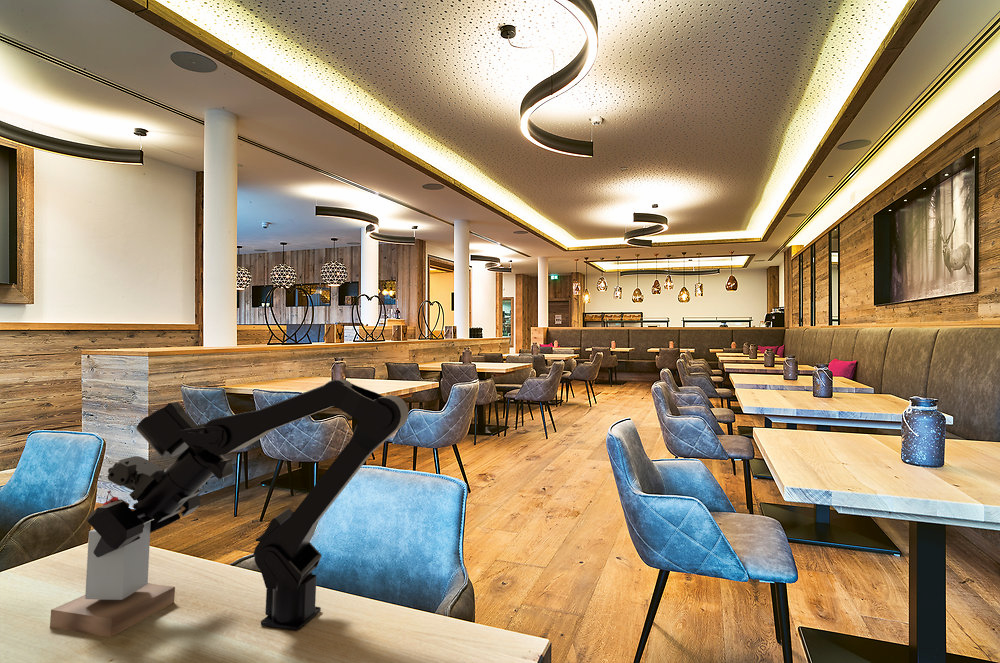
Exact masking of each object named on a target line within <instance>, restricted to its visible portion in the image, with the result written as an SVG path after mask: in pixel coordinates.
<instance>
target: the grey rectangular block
mask: <svg viewBox="0 0 1000 663" xmlns="http://www.w3.org/2000/svg"><path fill="white" fill-rule="evenodd" d="M150 525H151V521H149V522H147V523H145V524H144V528H143V532H142V533H141V534H140V535H139V537H140V539H138V540H136V541H134V542H132V543H130V544H128V545H125V546H123V547H121V548H119V549H116V550H114V551H112V552H109V553H107V554H105V555H103V556H101V557H96V556H95V554H94V553H93V552H94V550H95V548H96V546H97V544H98V542H99V540H100V538H101V536H100V535H99V534H98V533H97V531H96V530H95V529H94V528H93V529H92V530H89V531H88V541H87V557H86V558H87V560H86V579H85V582H86V583H85V594H84V595H85V599H104V600H123V599H124V598H126V597H127V596H129V595H131V594H132V593H134V592H135V591H137V590H139V589H140V588H142V587H143V586H145V585H147V584H148V583H149V566H150V565H149V564H150V562H149V561H150V546H151V545H150V543H151V533H150Z"/></svg>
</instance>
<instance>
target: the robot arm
mask: <svg viewBox="0 0 1000 663" xmlns="http://www.w3.org/2000/svg"><path fill="white" fill-rule="evenodd" d="M333 407H334V408H337V409H339V410H340V411H342V412H344V413H345V414H347V415H348V416H349V417H351V418H353V419H355V420H357V423H356V425H355V427H354V430H353V433H352V435H351V438H350V439H349V442H348V443H347V444H346V446H345V447H344V448H343V449H342V450H341V452H340V453H339V454H338V456H336V458H335V459H334V461H333V462H332V463H331V464H330V466H329V467H328V468H327V469H326V471H325V472H324V473H323V475H322V476H321V477H320V478H319V479H318V481H317V482H316V483H315V485H314V486H313V487H312V489H311V490H310V491H309V492H308V493H307V495H306V496H305V498H304V499H303V500H302V501H301V503H300V504H298V506H297V507H296V509H295V510H294V511H293V509H291V508H290V507H288V508H287V509H285V510H284V511H282V512H280V513H279V514H277V515H276V516H274V517H273V518H272V519H271V521H270V523H269V524H268V525H267V527H266V529H265V531H264V532H263V533H262V534H261V535H259V536H258V537H257V538H256V539H255V541H256V542H258V543H257V544H256V546H255V548H254V550H253V553H252V554H253V556H254V562H255V566H256V567H257V568H258V569H259V571H260V573H261V576H262V579H263V582H264V586H265V588H266V590H265V592H266V593H265V594H266V595H265V596H266V597H265V617H263V619H262V620H260V625H261V626H264V627H272V628H278V629H285V630H292V631H298V630H300V629H301V628H303V627H304V626H305V625H306V624H307V623H308V622H310V621H311V620H312V619H313V618H314V617H316V615H317V614H319V613H320V612H322V610H321V609H322V608H321V606H316V598H317V597H316V596H317V594H316V593H317V575H316V574H313V573H312V572H313V571H314V570H315V569H316V568H317V567H318V566H319V564H320V561H321V558H322V553H320V552H319V550H318V549H317V548H316V547H315V546H314V545H313V544H312V543H311V541H312V538H313V536H314V535H315V532H316V530H317V526H318V524H319V522H320V520H321V519H322V517H323V516H324V515H325V514H326V512H328V509H330V507H331V506H332V505H333V503H334V502H335V501H336V499H337V498H338V497H339V495H341V493H342V492H343V491H344V489H345V488H346V486H348V484H349V483H350V482H351V480H353V478H354V477H355V476H356V474H357V473H358V471H359V470H360V469H361V468H362V467H363V465H364V464H365V463H366V461H367V460H368V459H369V458H370V456H371V455H372V454H373V452H375V451H376V450H377V449H379V447H381V446H382V445H383V444H384V443H385V442H386V441H387V440H388V439H390V437H392V435H394V434H395V433H396V432H397V431H398V430H400V429H401V427H403V426H404V425H405V423H406V422H407V420H408V418H409V409H408V405H407V403H406V401H405V400H404V399H403V398H401V397H400V396H398V395H393V394H389V395H385V396H384V395H383V394H380V393H378V392H375V391H373V390H370V389H367V388H364V387H362V386H359V385H356V384H354V383H352V382H351V381H349V380H347V379H343V378H341V379H332V380H329V381H328V382H326V383H325V384H323V385H321V386H318V387H316V388H313V389H310V390H307V391H305V392H302V393H299V394H297V395H294V396H292V397H289V398H286V399H283V400H281V401H279V402H276V403H273V404H271V405H268V406H265V407H263V408H262V407H261V409H256V410H252V411H245V412H241V413H236V414H235V413H234V414H229V415H224V416H221V417H215V418H212V419H210V420H208V421H207V422H206V423H201V424H197V423H196V421H194V420H193V418H191V416H190V415H189V414H188V413H187V412H186V410H185V409H184V407H183V406H182V404H180V403H179V402H178V401H176V402H169V403H168V404H166V405H165V406H164V407H162V408H159V409H158V410H155V411H154V412H152V413H151V414H150V415H148V416H145V417H144V418H142V419H141V421H140V422H139V423H138V424H137V425H136V427H135V429H136V431H137V432H138V433H139V434H140V436H142V438H144V440H146V442H147V443H148V444H149V445H150V446H151V448H152V449H154V450H155V452H156V453H157V454H158V455H159V456H160V457H164V456H165V457H166V456H168V455H170V457H172V458H173V457H176V456H178V455H179V456H178V457H177V458H176V459H174V461H173V462H172V463H170V464H169V465H168V466H167V467H166V468H165V469H164V468H162V467H161V466H160V465H158V464H157V463H155V462H153V461H150V460H148V459H146V458H145V457H142V456H139V455H133V456H130V457H125V458H122V459H119V460H118V461H116V462H115V463H114V465H113V466H112V467H109V468H108V469H107V472H108V475H107V479H108V481H109V482H111V483H113V484H114V485H115V484H116V485H117V486H119V487H125V488H127V489H128V490H130V491H132V492H130V493H129V496H130V497H131V499H132V500H133V501H137V502H135V503H134V504H132V505H131V506H132V507H131V508H133V509H134V510H132V509H131V508H130V506H129V507H128V506H127V505H126V503H125V502H126V501H125V500H124V501H125V502H124V501H115V502H112V503H109V504H106V505H103V504H102V505H100V506H98V507H96V508H95V510H93V511H91V513H90V514H89V515H88V516H87V523H88V524H89V525H90V526H91V527H92V528H93V530H94V529H95V530H96V531H97V533H98V534H99V535H100V536H101V538H100V540H99V542H98V544H97V546H96V548H95V550H94V552H93V553H94V554H95V556H96V557H101V556H103V555H105V554H107V553H109V552H112V551H114V550H116V549H119V548H121V547H123V546H125V545H128V544H130V543H132V542H134V541H136V540H138V539H140V537H139V535H140V534H141V533H142V532H143V528H144V524H145V523H147V522H149V521H151V525H150V534H152V533H153V532H155V531H158V530H160V529H162V528H164V527H166V526H168V525H171V524H173V523H176V522H177V521H179V520H180V519H181V516H182V517H183V518H184V517H186V516H188V515H190V514H192V513H194V512H195V511H196V510H197V509H198V508H199V507H200V506H201V496H200V495H199V494H200V492H201V490H200V488H201V487H202V486H203V485H204V484H205V483H206V482H207V481H209V479H210V478H212V476H213V475H214V476H215V477H216V478H217V479H218V480H222V479H225V478H227V477H230V476H231V475H233V474H234V467H233V462H234V459H232V458H226V457H224V456H223V455H228V454H230V453H233V452H236V451H240V450H243V449H245V448H247V447H248V446H250V445H252V444H253V443H255V442H257V441H259V440H260V439H262V438H263V437H265V436H266V435H268V434H269V433H270V432H272V431H274V430H276V429H278V428H280V427H283V426H286V425H289V424H291V423H294V422H296V421H299V420H302V419H304V418H307V417H309V416H312V415H315V414H318V413H320V412H322V411H326V410H328V409H330V408H333ZM181 506H183V507H184V510H183V508H182V507H181ZM180 512H181V513H180ZM179 513H180V514H179Z"/></svg>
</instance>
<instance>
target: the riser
mask: <svg viewBox="0 0 1000 663" xmlns="http://www.w3.org/2000/svg"><path fill="white" fill-rule="evenodd" d="M175 593H176V586H172V585H165V584H164V585H163V584H157V583H149V582H148V584H147V585H145V586H143V587H142V588H140V589H139V590H137V591H135V592H134V593H132V594H131V595H129V596H127V597H126V598H124V599H123V600H104V599H85V594H83V595H81V596H79V597H77V598H74V599H72V600H70V601H67V602H66V603H65V602H64V603H63V604H60V605H59V606H56V607H54V608H52V609H51V610H50V618H49V619H50V621H49V622H50V623H49V628H50V629H57V630H64V631H69V632H75V633H76V632H77V633H82V634H89V635H94V636H101V637H106V638H112V637H114V636H116V635H118V634H119V633H121V632H123V631H125V630H126V629H128V628H130V627H132V626H134V625H136V624H138V623H139V622H141V621H143V620H145V619H147V618H148V617H150V616H153V615H154V614H156V613H158V612H159V611H162V610H163V609H165V608H167V607H168V606H169V607H170V606H171V605H173V604H175V598H176V597H175V596H176V595H175ZM172 603H173V604H172Z"/></svg>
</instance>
